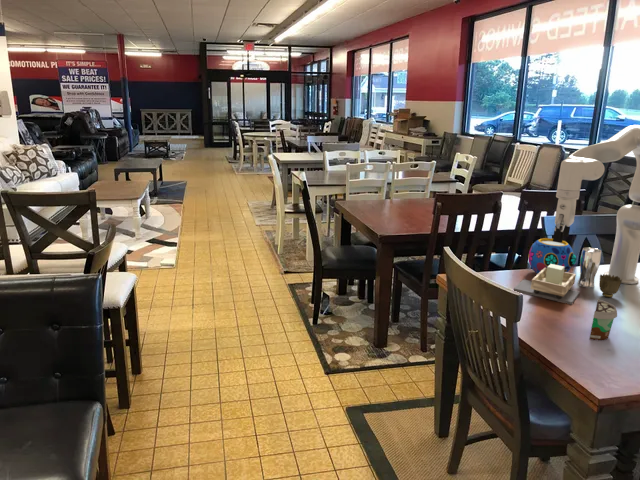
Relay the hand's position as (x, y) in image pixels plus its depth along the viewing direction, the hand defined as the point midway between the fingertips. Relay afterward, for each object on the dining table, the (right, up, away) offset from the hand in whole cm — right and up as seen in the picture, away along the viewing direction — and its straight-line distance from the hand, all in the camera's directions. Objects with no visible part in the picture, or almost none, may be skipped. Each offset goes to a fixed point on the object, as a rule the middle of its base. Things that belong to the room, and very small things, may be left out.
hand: (560, 239), depth 190 cm
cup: (+20, -22, +5) cm, 30 cm away
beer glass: (+18, -19, +16) cm, 30 cm away
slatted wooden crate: (-1, -20, +6) cm, 21 cm away
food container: (0, -31, -28) cm, 42 cm away
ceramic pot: (+7, -16, +26) cm, 31 cm away
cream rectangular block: (0, -17, +5) cm, 18 cm away
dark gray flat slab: (-2, -21, +7) cm, 22 cm away
